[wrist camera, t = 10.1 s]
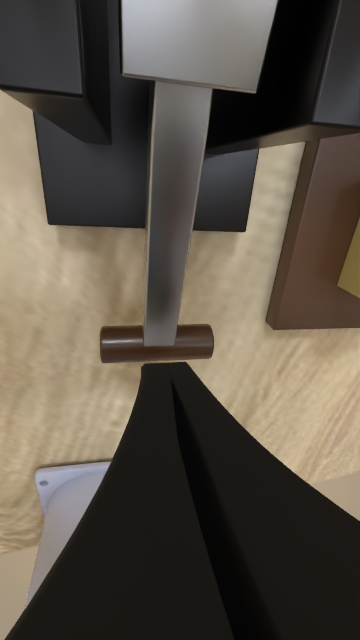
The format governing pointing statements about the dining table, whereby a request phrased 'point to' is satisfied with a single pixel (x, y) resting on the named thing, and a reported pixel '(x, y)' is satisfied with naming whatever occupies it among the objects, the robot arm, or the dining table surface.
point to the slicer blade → (180, 146)
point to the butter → (352, 266)
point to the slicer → (133, 107)
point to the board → (319, 240)
